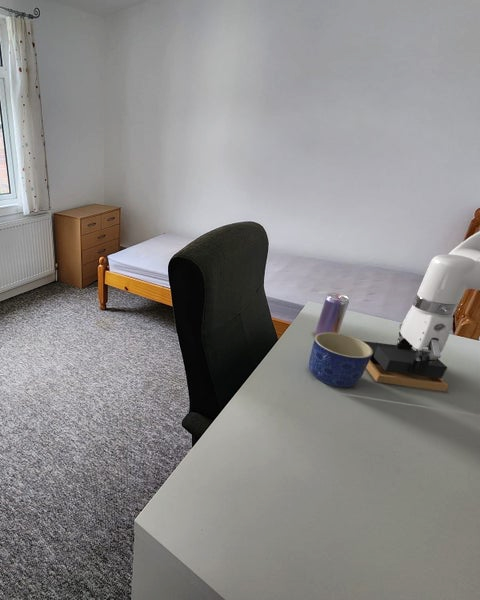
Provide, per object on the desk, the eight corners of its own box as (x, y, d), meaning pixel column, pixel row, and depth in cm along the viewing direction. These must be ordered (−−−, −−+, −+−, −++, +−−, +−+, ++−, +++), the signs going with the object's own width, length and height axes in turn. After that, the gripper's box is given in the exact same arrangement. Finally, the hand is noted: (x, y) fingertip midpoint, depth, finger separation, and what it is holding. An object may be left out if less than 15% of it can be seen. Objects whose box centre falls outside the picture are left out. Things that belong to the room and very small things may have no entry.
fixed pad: (406, 356, 101) (410, 346, 99) (419, 370, 95) (424, 359, 93) (358, 350, 104) (362, 340, 103) (368, 363, 98) (372, 353, 97)
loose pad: (425, 362, 93) (430, 352, 91) (441, 378, 87) (447, 367, 85) (373, 356, 96) (377, 346, 95) (385, 371, 90) (389, 360, 89)
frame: (409, 356, 101) (412, 349, 100) (444, 393, 87) (449, 385, 86) (351, 349, 106) (353, 342, 104) (375, 382, 91) (379, 375, 90)
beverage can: (318, 341, 110) (331, 300, 104) (311, 332, 115) (323, 292, 109) (338, 343, 109) (353, 301, 102) (331, 334, 114) (344, 293, 108)
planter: (354, 371, 96) (367, 338, 91) (363, 398, 86) (378, 362, 81) (303, 360, 101) (312, 328, 96) (306, 384, 91) (317, 350, 87)
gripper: (479, 323, 75) (445, 387, 83) (432, 292, 90) (407, 349, 97) (436, 319, 77) (407, 381, 85) (397, 290, 92) (375, 345, 100)
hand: (407, 363), depth 91 cm, fingers closed on loose pad, 7 cm apart
